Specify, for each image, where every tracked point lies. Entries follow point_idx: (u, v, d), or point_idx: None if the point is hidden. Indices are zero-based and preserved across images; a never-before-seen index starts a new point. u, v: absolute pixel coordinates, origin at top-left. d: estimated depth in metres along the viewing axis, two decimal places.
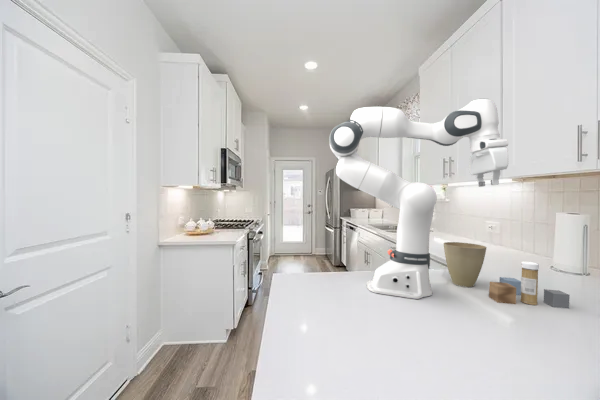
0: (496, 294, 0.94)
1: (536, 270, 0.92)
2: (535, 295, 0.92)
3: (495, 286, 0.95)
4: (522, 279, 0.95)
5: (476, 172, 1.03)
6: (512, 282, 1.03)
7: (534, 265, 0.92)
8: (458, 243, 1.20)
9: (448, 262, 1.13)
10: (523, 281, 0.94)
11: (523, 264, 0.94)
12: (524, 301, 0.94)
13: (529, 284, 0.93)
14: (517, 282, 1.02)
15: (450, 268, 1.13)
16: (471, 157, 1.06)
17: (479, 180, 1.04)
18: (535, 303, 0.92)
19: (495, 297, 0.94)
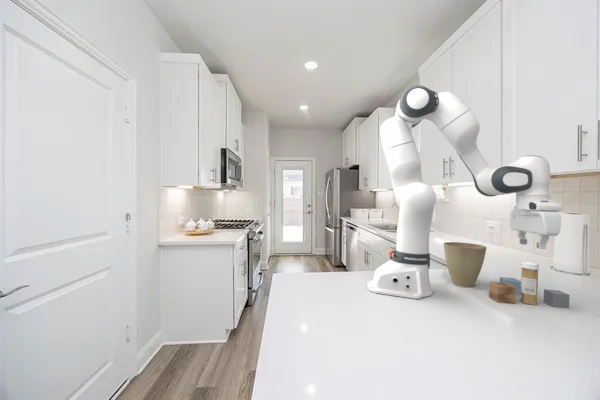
0: (496, 294, 0.94)
1: (536, 270, 0.92)
2: (535, 295, 0.92)
3: (495, 286, 0.95)
4: (522, 279, 0.95)
5: (519, 229, 0.98)
6: (512, 282, 1.03)
7: (534, 265, 0.92)
8: (458, 243, 1.20)
9: (448, 262, 1.13)
10: (523, 281, 0.94)
11: (523, 264, 0.94)
12: (524, 301, 0.94)
13: (529, 284, 0.93)
14: (517, 282, 1.02)
15: (450, 268, 1.13)
16: (514, 212, 1.01)
17: (521, 237, 0.99)
18: (535, 303, 0.92)
19: (495, 296, 0.94)
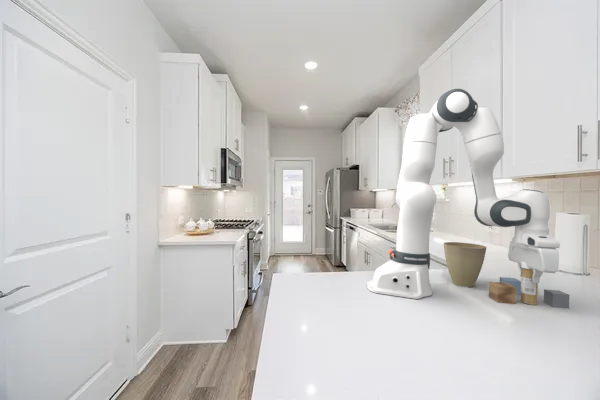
0: (496, 294, 0.94)
1: None
2: (535, 295, 0.92)
3: (495, 286, 0.95)
4: (522, 279, 0.95)
5: (517, 261, 0.98)
6: (512, 282, 1.03)
7: None
8: (458, 243, 1.20)
9: (448, 262, 1.13)
10: (523, 281, 0.94)
11: (523, 264, 0.94)
12: (524, 301, 0.94)
13: (529, 284, 0.93)
14: (517, 282, 1.02)
15: (450, 268, 1.13)
16: (512, 243, 1.01)
17: None
18: (535, 303, 0.92)
19: (495, 296, 0.94)
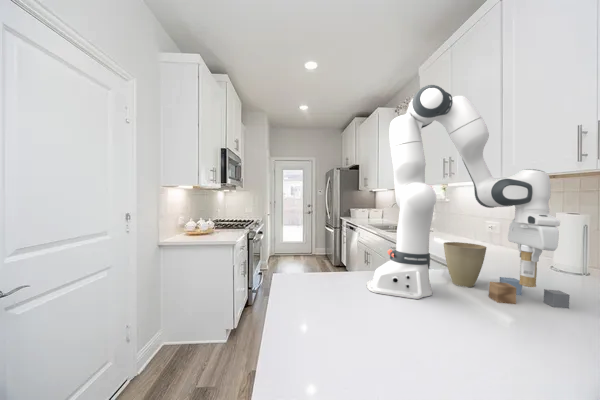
0: (496, 294, 0.94)
1: None
2: (534, 277, 0.92)
3: (495, 286, 0.95)
4: (521, 262, 0.95)
5: (517, 242, 0.98)
6: (512, 282, 1.03)
7: None
8: (458, 243, 1.20)
9: (448, 262, 1.13)
10: (522, 263, 0.94)
11: (522, 247, 0.94)
12: (523, 284, 0.94)
13: (528, 267, 0.93)
14: (517, 282, 1.02)
15: (450, 268, 1.13)
16: (512, 224, 1.01)
17: None
18: (534, 285, 0.92)
19: (495, 297, 0.94)
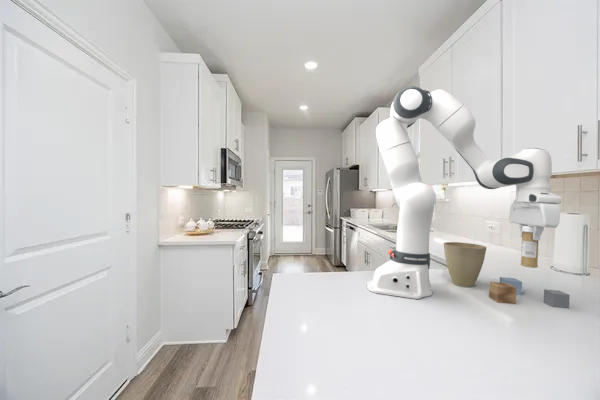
0: (496, 294, 0.94)
1: None
2: (535, 258, 0.92)
3: (495, 286, 0.95)
4: (522, 243, 0.95)
5: (518, 222, 0.98)
6: (512, 282, 1.03)
7: None
8: (458, 243, 1.20)
9: (448, 262, 1.13)
10: (524, 244, 0.94)
11: (524, 228, 0.94)
12: (524, 264, 0.94)
13: (529, 247, 0.93)
14: (517, 282, 1.02)
15: (450, 268, 1.13)
16: (514, 205, 1.01)
17: None
18: (535, 266, 0.92)
19: (495, 296, 0.94)
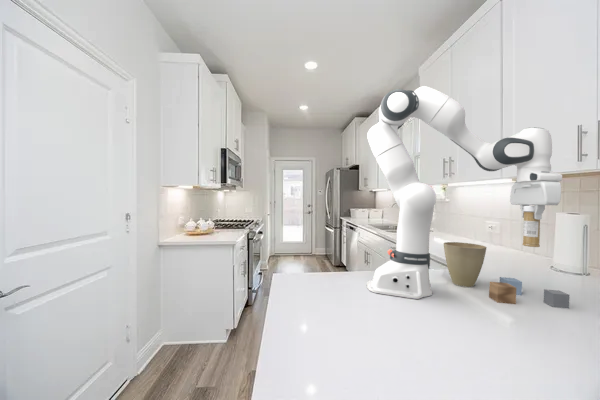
0: (496, 294, 0.94)
1: None
2: (537, 237, 0.92)
3: (495, 286, 0.95)
4: (524, 223, 0.95)
5: (519, 202, 0.98)
6: (512, 282, 1.03)
7: None
8: (458, 243, 1.20)
9: (448, 262, 1.13)
10: (525, 224, 0.94)
11: (525, 207, 0.94)
12: (526, 244, 0.94)
13: (531, 227, 0.93)
14: (517, 282, 1.02)
15: (450, 268, 1.13)
16: (514, 186, 1.01)
17: None
18: (537, 245, 0.92)
19: (495, 297, 0.94)
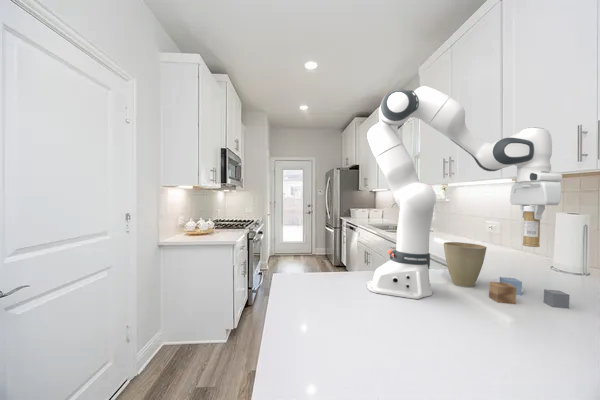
0: (496, 294, 0.94)
1: None
2: (537, 237, 0.92)
3: (495, 286, 0.95)
4: (524, 223, 0.95)
5: (519, 202, 0.98)
6: (512, 282, 1.03)
7: None
8: (458, 243, 1.20)
9: (448, 262, 1.13)
10: (525, 224, 0.94)
11: (525, 207, 0.94)
12: (526, 244, 0.94)
13: (531, 227, 0.93)
14: (517, 282, 1.02)
15: (450, 268, 1.13)
16: (514, 186, 1.01)
17: None
18: (537, 245, 0.92)
19: (495, 297, 0.94)
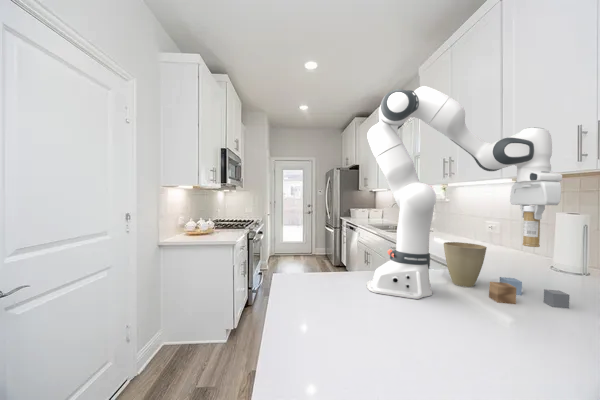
0: (496, 294, 0.94)
1: None
2: (537, 237, 0.92)
3: (495, 286, 0.95)
4: (524, 223, 0.95)
5: (519, 202, 0.98)
6: (512, 282, 1.03)
7: None
8: (458, 243, 1.20)
9: (448, 262, 1.13)
10: (525, 224, 0.94)
11: (525, 207, 0.94)
12: (526, 244, 0.94)
13: (531, 227, 0.93)
14: (517, 282, 1.02)
15: (450, 268, 1.13)
16: (514, 186, 1.01)
17: None
18: (537, 245, 0.92)
19: (495, 297, 0.94)
